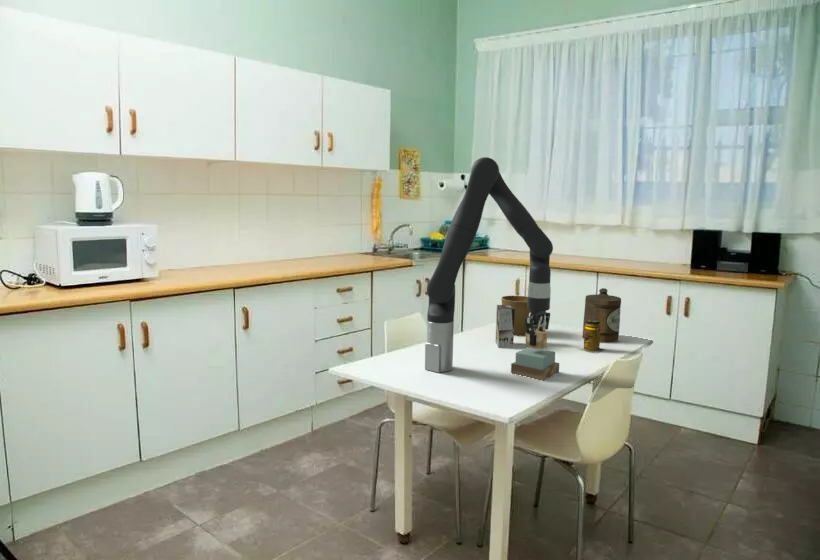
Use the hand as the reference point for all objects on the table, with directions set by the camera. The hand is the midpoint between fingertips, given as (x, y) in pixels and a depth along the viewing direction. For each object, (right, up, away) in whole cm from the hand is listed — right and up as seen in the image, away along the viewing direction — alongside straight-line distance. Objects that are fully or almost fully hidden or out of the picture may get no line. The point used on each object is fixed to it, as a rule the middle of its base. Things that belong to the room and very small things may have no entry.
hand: (536, 344), depth 204 cm
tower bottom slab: (0, -11, +2) cm, 11 cm away
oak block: (0, -1, 0) cm, 1 cm away
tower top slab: (0, -7, +1) cm, 7 cm away
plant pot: (+4, -2, +59) cm, 59 cm away
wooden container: (+39, -4, +52) cm, 65 cm away
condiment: (+30, -6, +34) cm, 45 cm away
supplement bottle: (+8, -5, +42) cm, 43 cm away
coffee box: (-5, -5, +39) cm, 40 cm away
